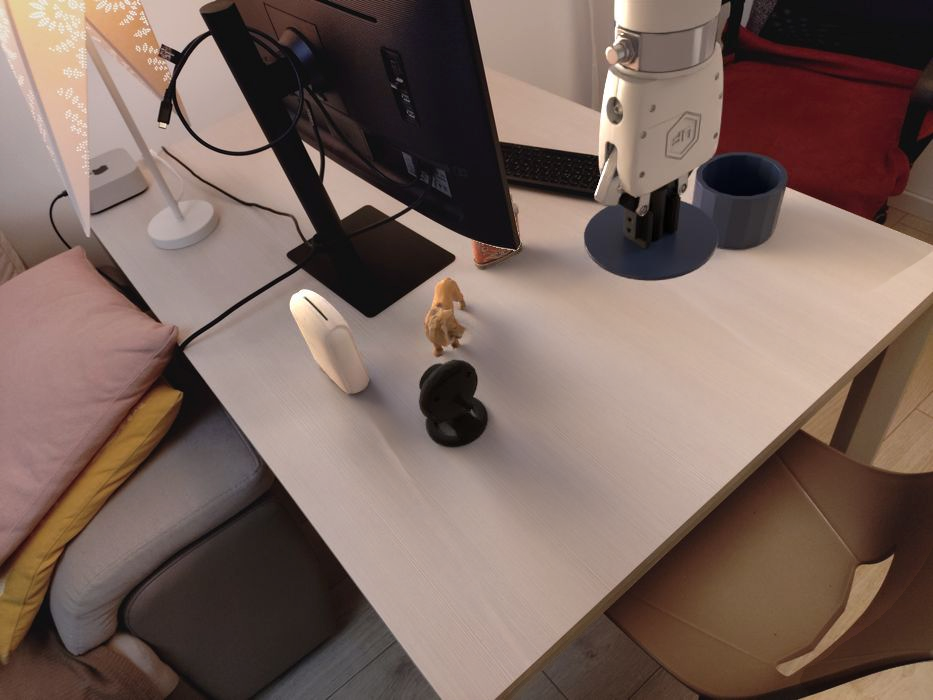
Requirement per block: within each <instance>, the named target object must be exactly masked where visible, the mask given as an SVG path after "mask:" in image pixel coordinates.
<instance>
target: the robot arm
mask: <svg viewBox="0 0 933 700" xmlns="http://www.w3.org/2000/svg"><path fill="white" fill-rule="evenodd" d="M613 9H614V10H613V13H614V15H613V17H614V18H613V44H612V45H610V46H608V47H607V48H606V50H605V58H606V60H607V63H608V64H609V65H610V66H609V67H608V71H607V75H606V80H605V85H604V90H603V96H602V104H601V111H600V120H599V134H598V168H599V174H600V179H599V182H598V185H597V188H596V190H595V193H594V197H593V198H594V200H595V202H597V203H599V204H601V205H603V206H604V207H607V206H617V205H621V206H623V207H624V223H623V234H624V236H625V237H627V238H628V239H630V240H631V241H633V242H634V243H636V244H637V245H639V246H640V247H642V248H644V249H646V248H647V247H649V246H650V244H651V237H652V224H653V213H652V212H651V211H650V210H648V209H649V202H650V194H651V192H652V191H654V190H656V189H658V188H660V187H662V186H664V185H666V184H668V190H667V201H666V212H665V222H664V230H665V231H667V232H668V233H674V232H675V231H677V229H678V220H679V211H680V202H681V201H682V197H681V196H683V194H685V193H686V192H687V190H688V188H689V178H690V176H691V175H692V173H693V172H694V170H695V169H698V168H699V166H700V165H702V164H704V163H705V162H707V161H708V160H709V159H710V158H712V157H714V156H715V154H716V152H717V149H718V145H719V139H720V133H721V125H722V114H723V103H724V101H723V100H724V62H723V61H724V60H723V54H722V53H723V52H722V46H721V44H720V43H719V42H717V38H718V31H719V21H720V15H721V9H722V0H614V7H613Z"/></svg>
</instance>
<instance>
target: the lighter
mask: <svg viewBox="0 0 933 700" xmlns="http://www.w3.org/2000/svg"><path fill="white" fill-rule="evenodd" d="M510 194H511V200H512V205H513V210H514V214H515V218H516V223H517V228H518V232H519V236H520V237H521V232H520V222H519V212H520V211H519V206H518V205H517V204H516V203H515V202H513V195H512V193H510ZM471 246H472V251H473V256H474V258H473V263H474V267H475V268H476V269H478V270H482V271H483V270H487V269H490V268H493V267H496V266H498V265H501V264H503V263H505V262H507V261H509V260H511V259H512V258H514V257H516V256H517V255H519V254H520V253H521V252H522V251H523V242H522V241H521V245H520V247H519V249H518V250H516V251H513V250H507V249H501V248H496V247H493V246H489V245H486V244H482V243H479V242H476V241H473V240H471Z"/></svg>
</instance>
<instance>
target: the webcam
mask: <svg viewBox="0 0 933 700" xmlns="http://www.w3.org/2000/svg"><path fill="white" fill-rule="evenodd" d="M478 384H479V378H478V373H477V370H476V368H475V367H474V366H473V365H472V364H471V363H470V362H468V361H466V360H463V359H451V360H448V361H446V362H443V363H440V362H438V363H434V364H431V365H430V366H428V368H427V369H426V370H425V371H424V372H423V373H422V375H421V377H420V379H419V384H418V387H419V390H420V391H419V398H418V405H419V409H420V412H421V414H422V415H423V416H424V417H425V418H426V419H425V429H426V432H427V434H428V436H429V438H430V439H431V440H432V441H433V442H435V443H436V444H437V445H440V446H443V447H446V448H447V447H448V448H459V447H464V446H467V445H469V444H472V443H473V442H475V441H477V440H478V439H479V438H480V437H481V436H482V435H483V434H484V432H485V430H486V429H487V427H488V423H489V414H488V410H487V408H486V406H485V405H484V403H483V402H482V401H481V400H479V399H478V398H477V397H475V394H476V392H477V389H478V386H479V385H478ZM471 411H473V412H474V414H475V415H474V414H472V413H471ZM440 423H446V424H447V425H448V426H449V427H451V428H452V429H453V430H454V431H455V432H454V433H455V434H454V435H452V434H448V433H445V432H443V431H442V430H441V429H440V428H439V424H440Z"/></svg>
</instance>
